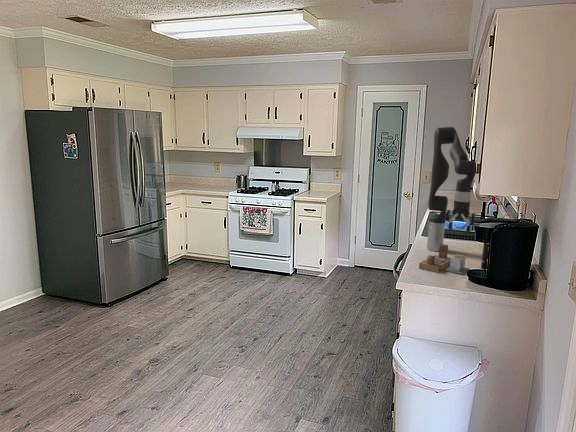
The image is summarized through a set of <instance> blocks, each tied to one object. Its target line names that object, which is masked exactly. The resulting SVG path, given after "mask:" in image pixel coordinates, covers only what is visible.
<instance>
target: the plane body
mask: <svg viewBox="0 0 576 432" xmlns="http://www.w3.org/2000/svg"><path fill="white" fill-rule="evenodd" d="M448 250H449V244H444V243H443V244H441V245H440V247H439V251H438V254H434V255H427V258H426V259H424V260H422V261H421V262H419V263H418V268H419V269H421V270H425V271H429V272H433V273H439V272H442V271H443V270H445V269H446V268H448V267H450V259H451V258H452V257H450V256H448Z"/></svg>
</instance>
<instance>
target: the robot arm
mask: <svg viewBox="0 0 576 432" xmlns="http://www.w3.org/2000/svg"><path fill="white" fill-rule="evenodd" d="M460 140H461V139H460V138H459V135H458V131H457V129H456V128H455V127H453V126H445V127H437V128H435V130H434V133H433V155H432V156H433V158H432V159H433V160H432V165H431V166H432V167H431V179H430V190H429V196H428V204H427V205H428V210H429V211H431V212H432V211H435V212H439V213H437V214H434V215H431V216H430V217H429V219H428V220H429V221H428V230H427V231H428V232H427V241H426V250H428V251H432V252H439V247H440V245H441V244H444V238H445V227H446V222H447V223H448V230H449V231H452V230H453V222H454V221H455V220H458V221H459V220H460V221H464V222H465V224H466V232H465V233H466V234H468V233H470V232H471V228H472V226H474V225H475V224H476V218H477V217H476V215H477V214H476V212H470V207H471V206H470V205H471V198H472V195H471V194H472V185H473V182H474V179H475V177H476V174H477V172H476V163H477V162H476V161H475V160H469V158H468V155H467V153H466V151H465V150H464V148H463V146H462V143H461V141H460ZM449 144H452V145H451V147H450V148H449V155H450V158H451V160H452V161H453V167H454V172H455V173H456V174H457V175H462V176H463V175H464V176H465V177H463V178H461V179H458V180H457V181H456V187H455V193H454V202H453V208H452V210H451V209H448V204H449V203H448V202H449V199H448V196H446V195H436V194H437V192H438V191H439V189H440V187H442V185H443V184H444V183H445V182H446V181H447V179H448V177H449V173H450V165H449V162H448V160H447V159H446V157H445V155H444V152H442V145H449ZM451 215H453V216H452V217H451ZM469 216H470V217H471V221H470V219H469ZM450 217H451V218H450ZM474 223H475V224H474Z"/></svg>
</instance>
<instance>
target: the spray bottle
mask: <svg viewBox="0 0 576 432" xmlns="http://www.w3.org/2000/svg"><path fill="white" fill-rule="evenodd" d="M482 247H483V248H482V256H481V262H480V263H481V264H480V268H481V270H482V269H484V270H486V269H487V259H488V247H489V244H488V243H484V242H483V245H482ZM484 270H483V271H484Z"/></svg>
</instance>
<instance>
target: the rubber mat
mask: <svg viewBox="0 0 576 432" xmlns="http://www.w3.org/2000/svg"><path fill="white" fill-rule="evenodd" d="M449 269H450V266H448V267H446V268H445V269H443V270H444V272H446V273H452V274H455V275H461V276H463V275H464V274H466V273H468V272H469V271H470V270H471V268H470V267H466V266H465V268H464V269H463V270H461V271H460V272H458V271H454V270H449ZM468 270H469V271H468ZM467 271H468V272H467Z"/></svg>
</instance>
